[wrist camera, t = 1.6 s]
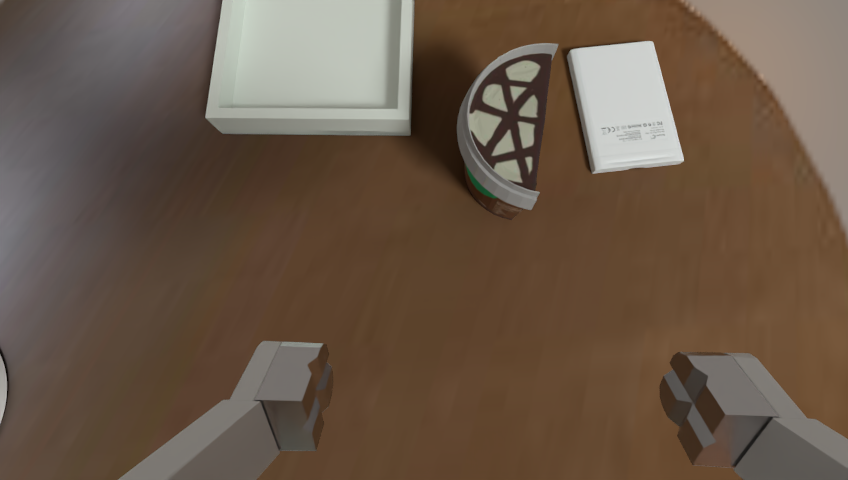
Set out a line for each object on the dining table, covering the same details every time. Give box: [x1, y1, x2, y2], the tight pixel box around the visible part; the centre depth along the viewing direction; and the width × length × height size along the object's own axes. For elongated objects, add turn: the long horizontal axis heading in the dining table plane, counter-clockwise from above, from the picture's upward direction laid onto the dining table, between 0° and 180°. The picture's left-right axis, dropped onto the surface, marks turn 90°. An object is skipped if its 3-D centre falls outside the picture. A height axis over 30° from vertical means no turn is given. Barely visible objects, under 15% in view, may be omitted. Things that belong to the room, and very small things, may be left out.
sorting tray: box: [205, 0, 414, 136], centre depth 39 cm, size 18×24×3 cm
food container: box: [457, 43, 558, 220], centre depth 32 cm, size 12×6×10 cm, turn 170°
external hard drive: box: [567, 41, 684, 174], centre depth 38 cm, size 2×8×12 cm
